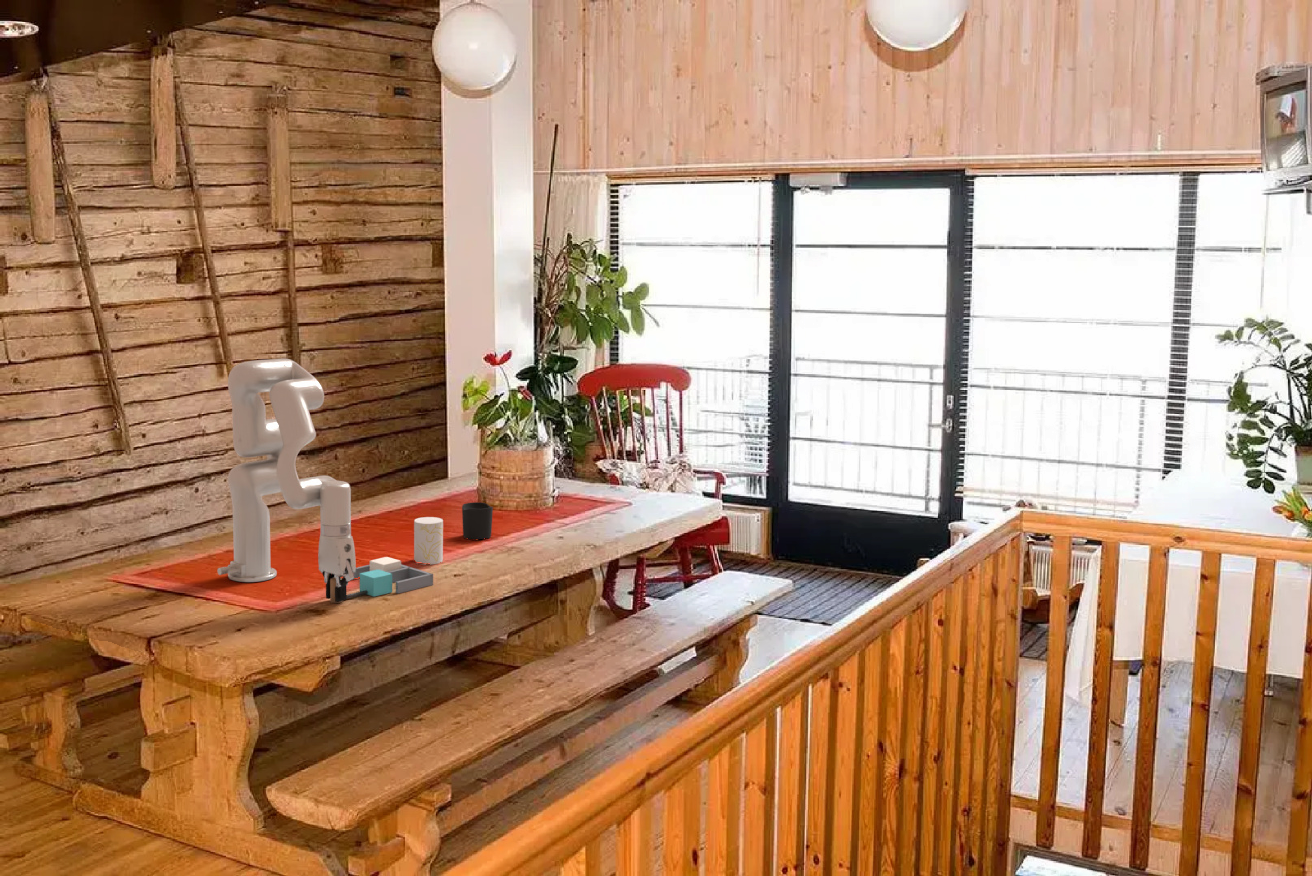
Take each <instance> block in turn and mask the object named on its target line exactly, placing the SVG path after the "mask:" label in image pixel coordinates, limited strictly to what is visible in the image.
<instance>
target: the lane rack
mask: <svg viewBox="0 0 1312 876" xmlns="http://www.w3.org/2000/svg"><path fill="white" fill-rule="evenodd" d="M368 571H370V564H366V565H362V566H358V567H356V571H355V573H353V576H354V578H358V577H360V573H364V572H368ZM388 573H391V574H392V584H394V583H395V594H402V593H407V592H410V591H413V590H417V589H422V588H426V587H429V586H433V585H434V574H433V573H431V572H428V571H424V570H422V569H418V568H415V567H412V566H408V565H405V564H402V563H401V569H398V570H393V571H389V572H388Z"/></svg>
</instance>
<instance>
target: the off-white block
mask: <svg viewBox="0 0 1312 876" xmlns="http://www.w3.org/2000/svg"><path fill="white" fill-rule="evenodd" d="M401 564H402V560H399V559H397V558H396V559H395V558H392V557H388V556H384V557H380V558H376V559H372V560H369V565H370V571H373V570H377V569H379V570H382V571H385V572H389V571H393V570H398V569H401Z"/></svg>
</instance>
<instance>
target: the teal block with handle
mask: <svg viewBox="0 0 1312 876" xmlns="http://www.w3.org/2000/svg"><path fill="white" fill-rule="evenodd" d="M340 578H341V579H342V578H343V577H340ZM336 586H337V585H336V577H334V578H331V579H330V603H331V604H340V603H342V602H343V601H340V602H336V601H335V587H336ZM391 593H393V583H392V574H391V573H388V572H385V571H382V570H379V569H377V570H373V571H368V572H364V573H360V579H359V591H356V592H352V593H349V594H346V600H348V599H351V598H356V597H360V596H364V595H368V596H371V597H373V598H374V597H377V596H378V597H379V596H381V595H386V594H391Z"/></svg>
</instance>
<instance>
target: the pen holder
mask: <svg viewBox="0 0 1312 876" xmlns="http://www.w3.org/2000/svg"><path fill="white" fill-rule="evenodd" d="M493 509H494V506H490V505H489V504H488V503H486V502H479V501H478V502H467V503H463V504H462V506H461V514H462V515H461V516H462V537H463V538H464V539H466V538H468V539H467V540H470V539H484V538H488V539H490V538H491V537H492V531H493V530H492V527H493Z"/></svg>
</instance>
